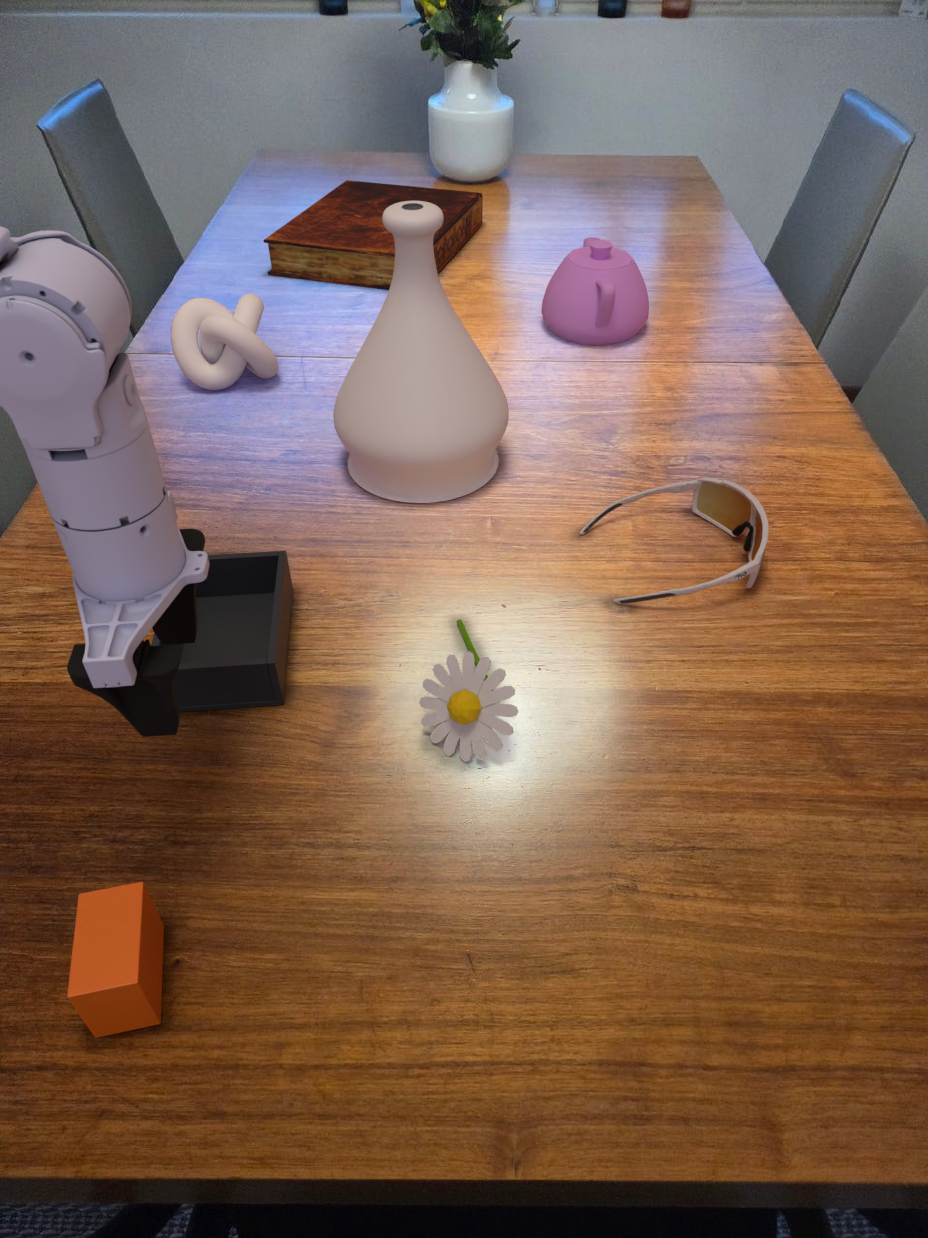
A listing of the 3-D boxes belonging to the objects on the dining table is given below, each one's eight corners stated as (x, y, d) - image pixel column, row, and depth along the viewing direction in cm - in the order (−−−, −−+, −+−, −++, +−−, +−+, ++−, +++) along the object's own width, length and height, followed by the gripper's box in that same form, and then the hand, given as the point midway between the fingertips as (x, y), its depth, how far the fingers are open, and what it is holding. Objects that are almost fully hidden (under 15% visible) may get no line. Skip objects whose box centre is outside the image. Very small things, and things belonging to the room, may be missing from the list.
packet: (94, 1039, 48) (66, 997, 44) (103, 937, 52) (78, 893, 49) (161, 1024, 48) (137, 982, 45) (164, 925, 53) (143, 880, 49)
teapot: (634, 293, 123) (644, 213, 116) (657, 357, 108) (670, 270, 101) (535, 293, 123) (539, 214, 116) (545, 357, 108) (550, 271, 101)
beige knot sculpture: (309, 373, 105) (299, 300, 99) (231, 412, 98) (215, 336, 92) (247, 348, 111) (234, 276, 105) (169, 382, 104) (150, 309, 98)
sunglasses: (792, 594, 74) (799, 548, 71) (622, 637, 74) (621, 593, 70) (723, 501, 85) (726, 457, 81) (573, 538, 84) (570, 496, 81)
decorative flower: (436, 558, 67) (501, 696, 56) (492, 590, 71) (562, 724, 60) (374, 626, 70) (424, 770, 59) (431, 653, 74) (488, 792, 63)
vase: (421, 531, 82) (408, 259, 65) (304, 462, 91) (266, 207, 74) (541, 458, 91) (557, 204, 74) (425, 402, 100) (415, 164, 83)
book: (421, 293, 123) (419, 257, 120) (268, 274, 129) (262, 239, 125) (482, 225, 144) (483, 192, 141) (348, 211, 150) (345, 179, 146)
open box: (159, 713, 65) (144, 671, 62) (185, 598, 75) (173, 556, 72) (284, 705, 66) (274, 662, 63) (293, 591, 75) (286, 550, 72)
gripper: (165, 584, 39) (223, 772, 48) (206, 422, 50) (247, 601, 59) (4, 594, 39) (93, 782, 48) (80, 428, 50) (141, 608, 59)
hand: (170, 683), depth 54 cm, fingers open, 7 cm apart
